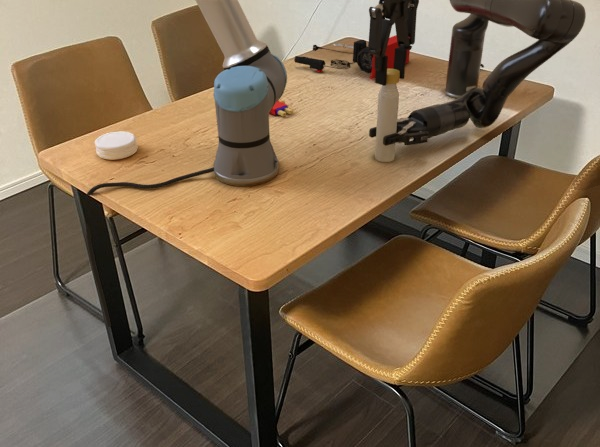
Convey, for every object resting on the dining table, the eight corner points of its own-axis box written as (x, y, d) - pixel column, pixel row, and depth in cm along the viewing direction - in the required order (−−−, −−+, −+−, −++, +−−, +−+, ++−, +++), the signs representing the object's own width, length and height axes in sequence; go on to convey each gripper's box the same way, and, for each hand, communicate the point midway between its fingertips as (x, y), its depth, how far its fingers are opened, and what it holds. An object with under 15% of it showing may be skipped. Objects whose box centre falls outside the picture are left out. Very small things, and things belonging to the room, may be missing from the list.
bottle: (373, 161, 149) (378, 77, 138) (375, 152, 153) (380, 70, 142) (393, 162, 148) (399, 78, 137) (395, 154, 152) (401, 71, 141)
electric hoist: (293, 36, 204) (372, 51, 189) (336, 22, 223) (412, 35, 208) (292, 67, 209) (370, 83, 194) (335, 51, 228) (409, 65, 213)
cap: (376, 80, 141) (376, 70, 140) (390, 76, 143) (391, 67, 142) (388, 85, 138) (388, 76, 137) (403, 81, 140) (404, 72, 139)
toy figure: (296, 106, 174) (268, 92, 181) (278, 112, 170) (250, 99, 177) (296, 114, 176) (268, 100, 183) (278, 121, 172) (250, 107, 179)
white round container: (108, 164, 149) (105, 151, 148) (90, 151, 156) (87, 138, 154) (145, 152, 155) (143, 139, 153) (126, 139, 161) (123, 127, 159)
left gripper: (380, -19, 120) (374, 95, 133) (439, -32, 131) (428, 75, 143) (352, -25, 125) (349, 86, 138) (411, -37, 136) (403, 67, 148)
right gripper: (413, 98, 157) (359, 112, 150) (453, 116, 147) (397, 133, 139) (411, 125, 161) (358, 141, 154) (450, 145, 151) (395, 163, 143)
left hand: (389, 80), depth 140 cm, fingers open, 5 cm apart
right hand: (377, 137), depth 146 cm, fingers closed on bottle, 4 cm apart
